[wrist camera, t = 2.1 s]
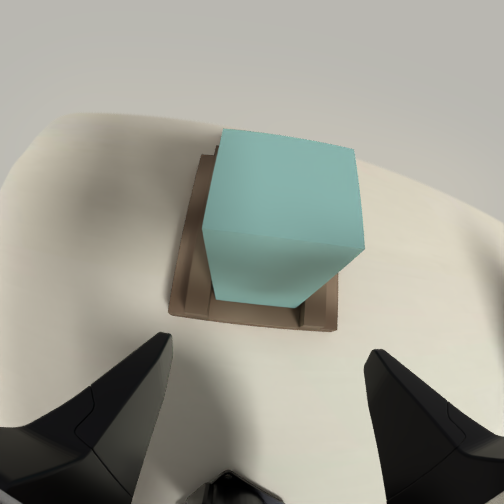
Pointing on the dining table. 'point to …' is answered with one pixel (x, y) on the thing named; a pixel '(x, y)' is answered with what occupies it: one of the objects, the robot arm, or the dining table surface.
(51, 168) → the dining table surface
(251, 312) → the chute
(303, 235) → the block
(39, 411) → the dining table surface
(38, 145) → the dining table surface
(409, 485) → the robot arm
